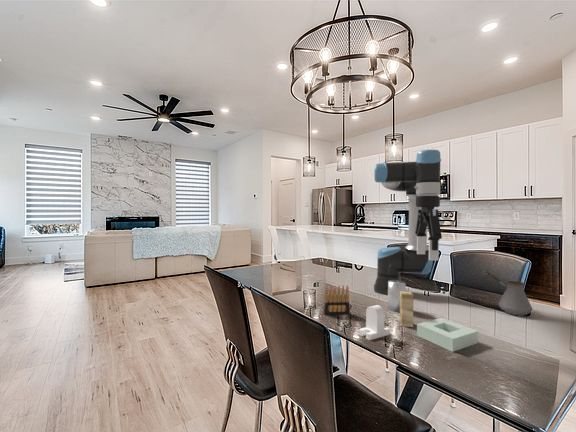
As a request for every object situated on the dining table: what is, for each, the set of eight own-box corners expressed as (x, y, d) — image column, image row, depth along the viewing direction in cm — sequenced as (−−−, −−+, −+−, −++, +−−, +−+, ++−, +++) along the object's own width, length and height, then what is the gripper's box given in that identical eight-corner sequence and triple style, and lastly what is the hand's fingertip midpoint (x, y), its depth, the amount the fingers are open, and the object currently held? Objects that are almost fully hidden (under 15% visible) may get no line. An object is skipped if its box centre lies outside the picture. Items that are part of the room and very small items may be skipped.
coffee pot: (539, 316, 119) (540, 280, 119) (516, 318, 117) (517, 281, 117) (493, 300, 140) (494, 269, 140) (473, 301, 138) (473, 270, 138)
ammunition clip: (348, 312, 123) (348, 284, 123) (349, 314, 121) (350, 285, 121) (323, 313, 123) (323, 285, 122) (324, 314, 121) (324, 286, 120)
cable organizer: (390, 334, 102) (390, 306, 102) (369, 340, 97) (369, 310, 97) (379, 328, 107) (379, 301, 107) (358, 334, 102) (358, 306, 102)
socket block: (441, 328, 107) (441, 317, 107) (477, 343, 95) (478, 331, 95) (416, 335, 101) (417, 324, 101) (452, 351, 90) (452, 339, 90)
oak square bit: (399, 322, 113) (400, 291, 113) (410, 322, 112) (411, 292, 112) (401, 326, 109) (402, 294, 109) (412, 326, 108) (413, 295, 108)
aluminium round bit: (395, 305, 133) (396, 279, 132) (408, 310, 126) (409, 282, 126) (384, 307, 129) (384, 281, 129) (396, 313, 123) (397, 284, 123)
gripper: (407, 197, 113) (406, 251, 114) (427, 193, 89) (426, 262, 89) (427, 197, 112) (426, 252, 112) (454, 193, 87) (453, 263, 88)
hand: (426, 257), depth 101 cm, fingers open, 13 cm apart
